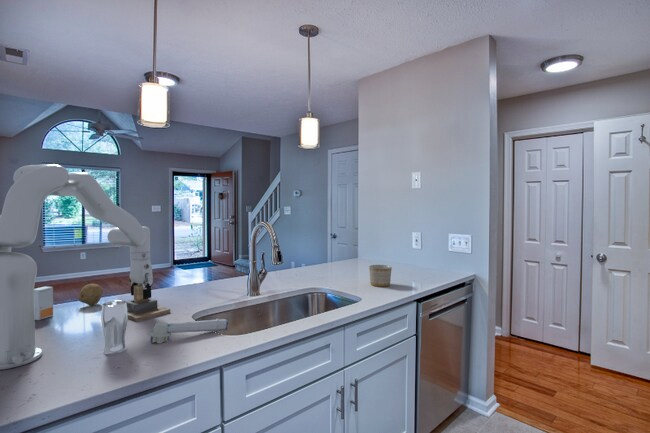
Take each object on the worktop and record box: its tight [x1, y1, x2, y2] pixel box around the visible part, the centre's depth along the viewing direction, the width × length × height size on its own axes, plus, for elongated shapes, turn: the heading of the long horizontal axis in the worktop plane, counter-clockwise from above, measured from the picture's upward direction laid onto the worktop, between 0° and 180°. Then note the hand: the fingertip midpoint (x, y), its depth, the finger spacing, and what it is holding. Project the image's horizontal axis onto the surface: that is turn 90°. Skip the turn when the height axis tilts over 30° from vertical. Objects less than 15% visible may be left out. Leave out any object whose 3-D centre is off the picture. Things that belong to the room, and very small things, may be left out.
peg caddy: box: [126, 297, 171, 323], centre depth 144 cm, size 20×14×5 cm
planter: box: [368, 264, 393, 288], centre depth 194 cm, size 13×13×10 cm
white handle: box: [149, 318, 229, 344], centre depth 119 cm, size 5×7×25 cm
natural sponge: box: [77, 283, 104, 307], centre depth 153 cm, size 9×9×10 cm
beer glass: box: [100, 299, 129, 356], centre depth 107 cm, size 7×7×15 cm
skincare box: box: [34, 285, 54, 321], centre depth 137 cm, size 6×4×12 cm
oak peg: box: [133, 284, 148, 304], centre depth 144 cm, size 4×4×10 cm
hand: (141, 296), depth 144 cm, fingers open, 9 cm apart
